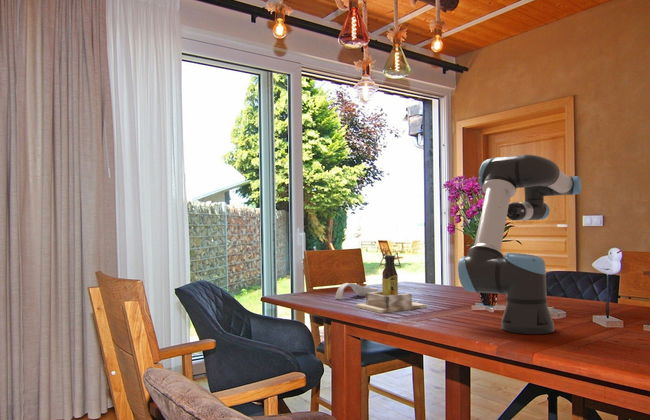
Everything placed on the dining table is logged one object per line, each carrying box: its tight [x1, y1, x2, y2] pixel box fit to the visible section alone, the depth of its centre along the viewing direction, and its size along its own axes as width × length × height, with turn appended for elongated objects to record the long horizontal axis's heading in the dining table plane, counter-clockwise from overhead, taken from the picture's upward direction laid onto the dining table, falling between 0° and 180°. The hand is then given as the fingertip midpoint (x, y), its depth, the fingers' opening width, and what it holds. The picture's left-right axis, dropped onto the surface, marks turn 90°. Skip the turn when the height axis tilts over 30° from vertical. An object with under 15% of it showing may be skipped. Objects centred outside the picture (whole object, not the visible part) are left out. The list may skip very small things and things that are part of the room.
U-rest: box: [355, 291, 427, 314], centre depth 201 cm, size 22×18×6 cm
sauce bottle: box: [381, 254, 399, 296], centre depth 201 cm, size 7×6×20 cm
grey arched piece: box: [334, 282, 379, 301], centre depth 234 cm, size 24×12×7 cm, turn 131°
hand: (482, 211), depth 197 cm, fingers open, 13 cm apart
